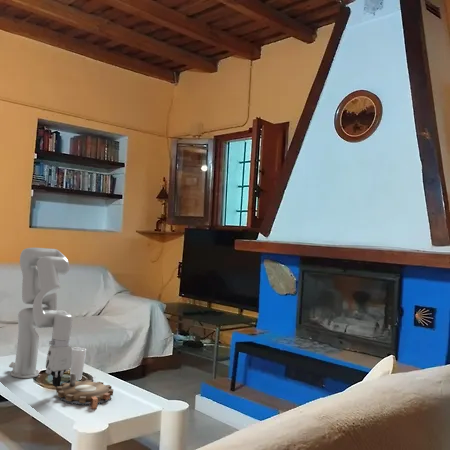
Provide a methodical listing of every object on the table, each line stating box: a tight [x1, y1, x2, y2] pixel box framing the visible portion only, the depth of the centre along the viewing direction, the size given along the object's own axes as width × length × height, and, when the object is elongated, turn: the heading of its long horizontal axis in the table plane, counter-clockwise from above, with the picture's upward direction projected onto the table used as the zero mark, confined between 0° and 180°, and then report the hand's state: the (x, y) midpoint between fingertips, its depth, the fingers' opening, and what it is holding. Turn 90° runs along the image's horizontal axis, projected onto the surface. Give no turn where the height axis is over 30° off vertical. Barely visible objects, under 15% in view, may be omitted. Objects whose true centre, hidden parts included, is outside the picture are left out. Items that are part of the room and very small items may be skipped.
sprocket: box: [56, 373, 114, 403], centre depth 226 cm, size 24×24×7 cm
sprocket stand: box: [57, 395, 111, 410], centre depth 225 cm, size 24×22×4 cm
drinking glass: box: [69, 346, 87, 381], centre depth 245 cm, size 7×7×15 cm
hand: (56, 385), depth 222 cm, fingers closed
